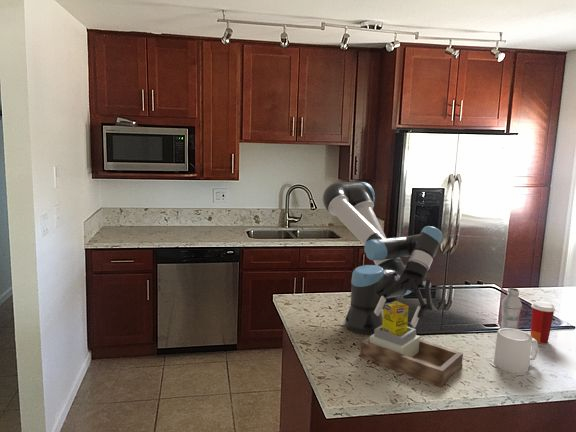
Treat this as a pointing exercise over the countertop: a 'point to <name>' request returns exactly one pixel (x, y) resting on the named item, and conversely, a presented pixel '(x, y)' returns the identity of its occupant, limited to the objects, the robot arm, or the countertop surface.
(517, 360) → the mug
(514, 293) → the plastic bottle
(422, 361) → the tray
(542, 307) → the paper cup
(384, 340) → the stepped square pedestal
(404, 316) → the supplement box
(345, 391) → the countertop surface
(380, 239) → the robot arm
